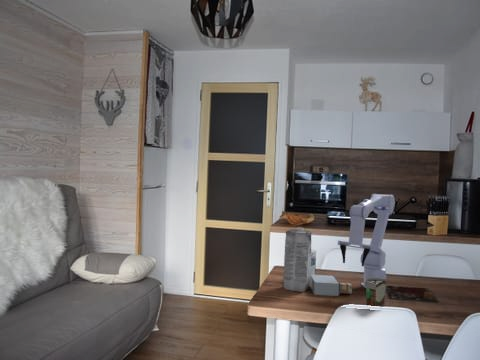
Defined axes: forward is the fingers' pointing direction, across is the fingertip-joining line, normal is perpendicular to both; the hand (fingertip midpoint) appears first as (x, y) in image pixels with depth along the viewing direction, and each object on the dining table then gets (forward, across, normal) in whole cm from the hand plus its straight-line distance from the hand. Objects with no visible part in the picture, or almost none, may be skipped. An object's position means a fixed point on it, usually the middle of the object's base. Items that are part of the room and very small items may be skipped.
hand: (353, 264), depth 176 cm
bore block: (+13, -11, +2) cm, 17 cm away
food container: (+14, +9, -11) cm, 20 cm away
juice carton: (+15, -22, -1) cm, 27 cm away
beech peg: (+12, -4, +1) cm, 13 cm away
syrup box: (+12, -21, +18) cm, 30 cm away
